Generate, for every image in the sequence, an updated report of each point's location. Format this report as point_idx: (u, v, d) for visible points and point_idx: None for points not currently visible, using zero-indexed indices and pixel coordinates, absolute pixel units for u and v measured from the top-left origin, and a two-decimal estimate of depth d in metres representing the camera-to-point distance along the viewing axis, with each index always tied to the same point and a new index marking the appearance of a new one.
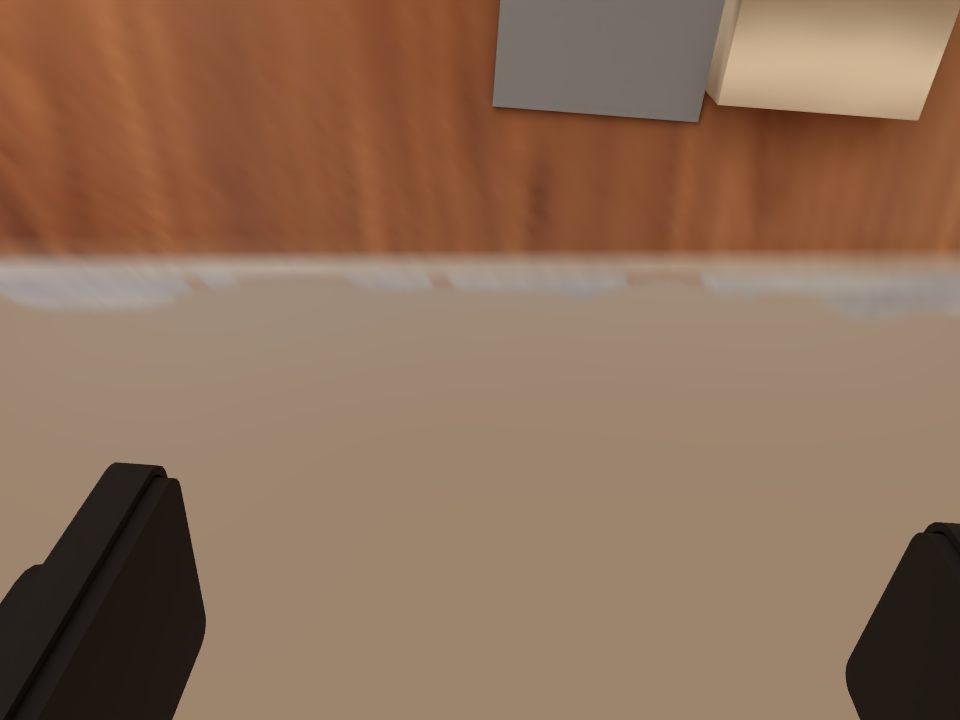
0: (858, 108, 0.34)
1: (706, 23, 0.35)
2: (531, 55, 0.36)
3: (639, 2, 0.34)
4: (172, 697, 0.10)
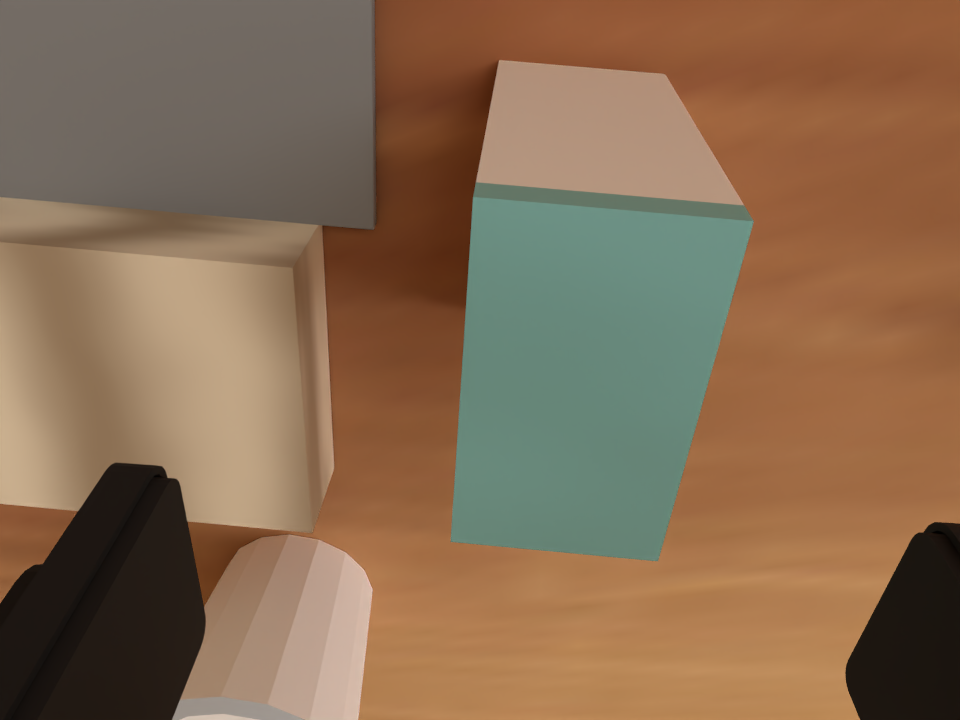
0: None
1: (16, 177, 0.20)
2: None
3: (7, 54, 0.19)
4: (172, 697, 0.10)
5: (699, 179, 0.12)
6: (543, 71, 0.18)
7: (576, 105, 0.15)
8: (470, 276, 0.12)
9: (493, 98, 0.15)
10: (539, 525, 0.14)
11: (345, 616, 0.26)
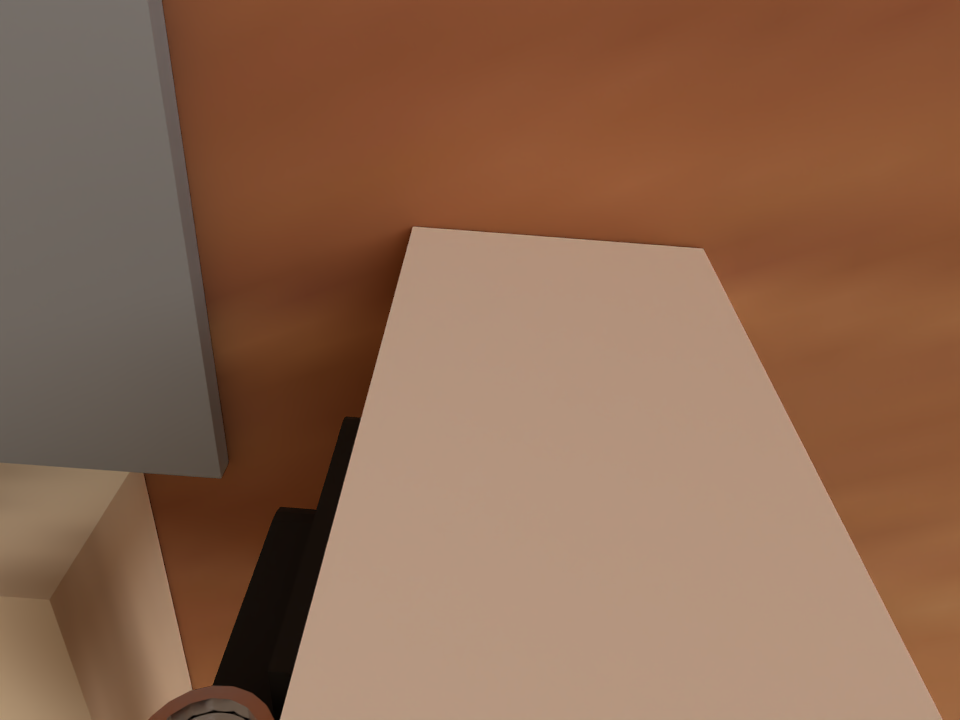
0: None
1: None
2: None
3: None
4: None
5: None
6: (489, 258, 0.10)
7: (547, 384, 0.07)
8: None
9: (377, 370, 0.07)
10: None
11: None
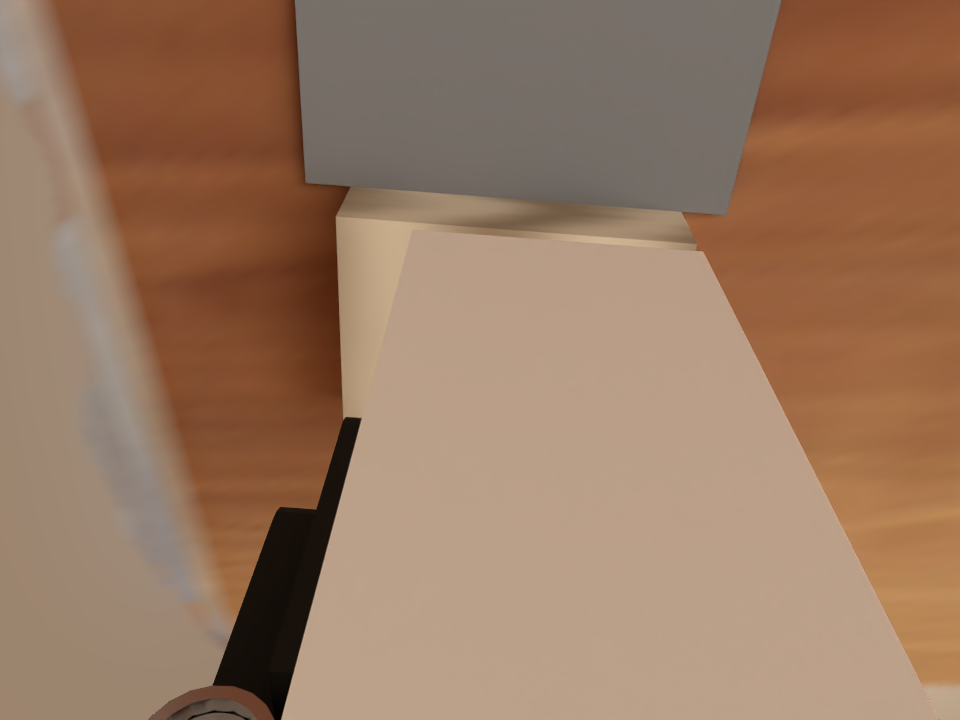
0: (351, 385, 0.27)
1: (439, 175, 0.25)
2: None
3: (464, 76, 0.23)
4: None
5: None
6: (488, 261, 0.10)
7: (547, 388, 0.07)
8: None
9: (377, 375, 0.07)
10: None
11: None
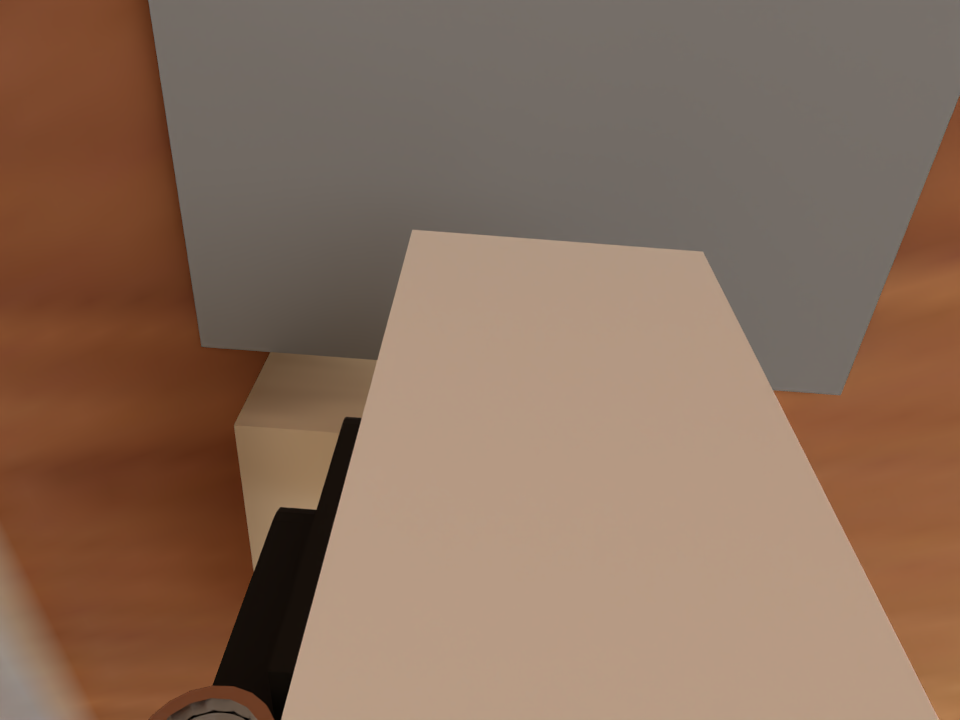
0: None
1: None
2: None
3: (439, 199, 0.15)
4: None
5: None
6: (488, 261, 0.10)
7: (547, 388, 0.07)
8: None
9: (377, 375, 0.07)
10: None
11: None
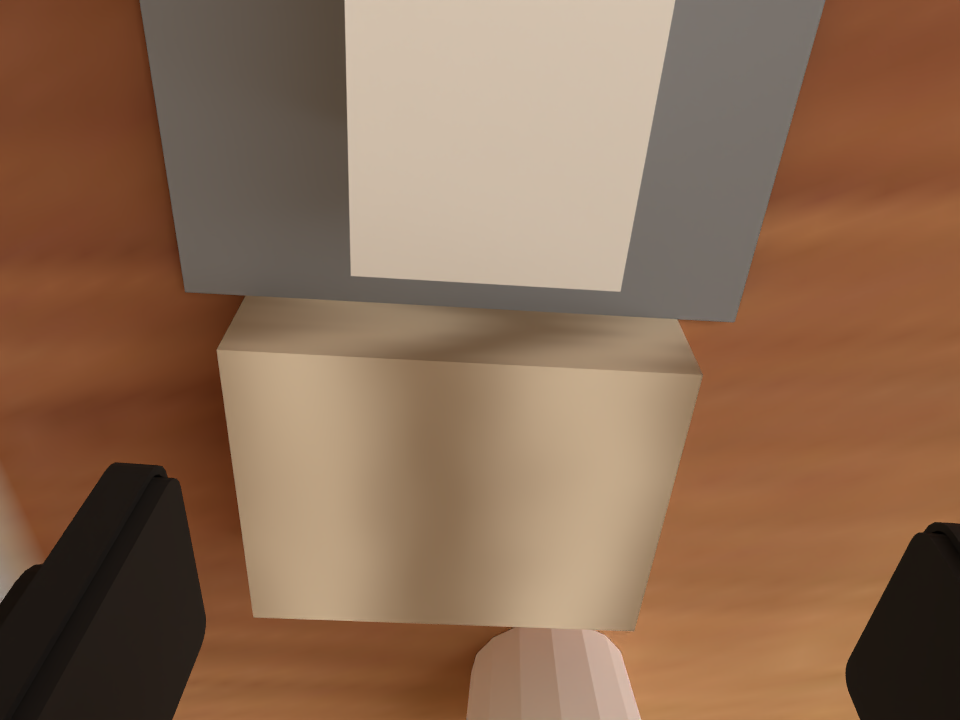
0: (255, 547, 0.20)
1: (361, 280, 0.19)
2: None
3: None
4: (172, 697, 0.10)
5: None
6: None
7: None
8: None
9: None
10: None
11: (631, 707, 0.25)
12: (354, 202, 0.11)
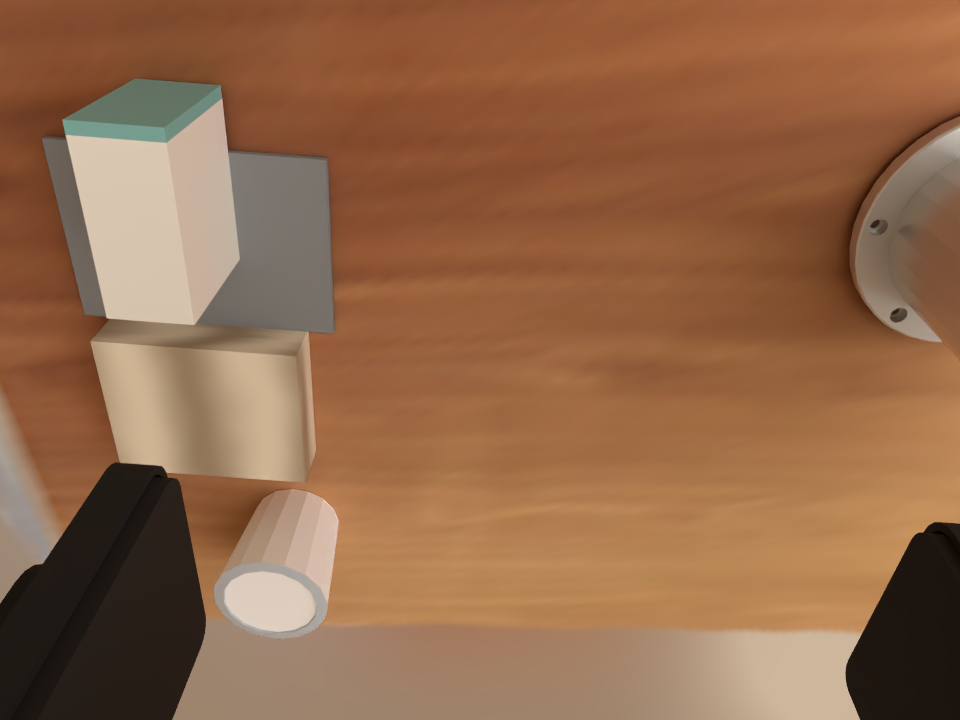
0: (118, 432, 0.44)
1: None
2: None
3: None
4: (172, 697, 0.10)
5: None
6: None
7: None
8: None
9: None
10: (111, 118, 0.31)
11: (323, 530, 0.49)
12: (103, 296, 0.34)
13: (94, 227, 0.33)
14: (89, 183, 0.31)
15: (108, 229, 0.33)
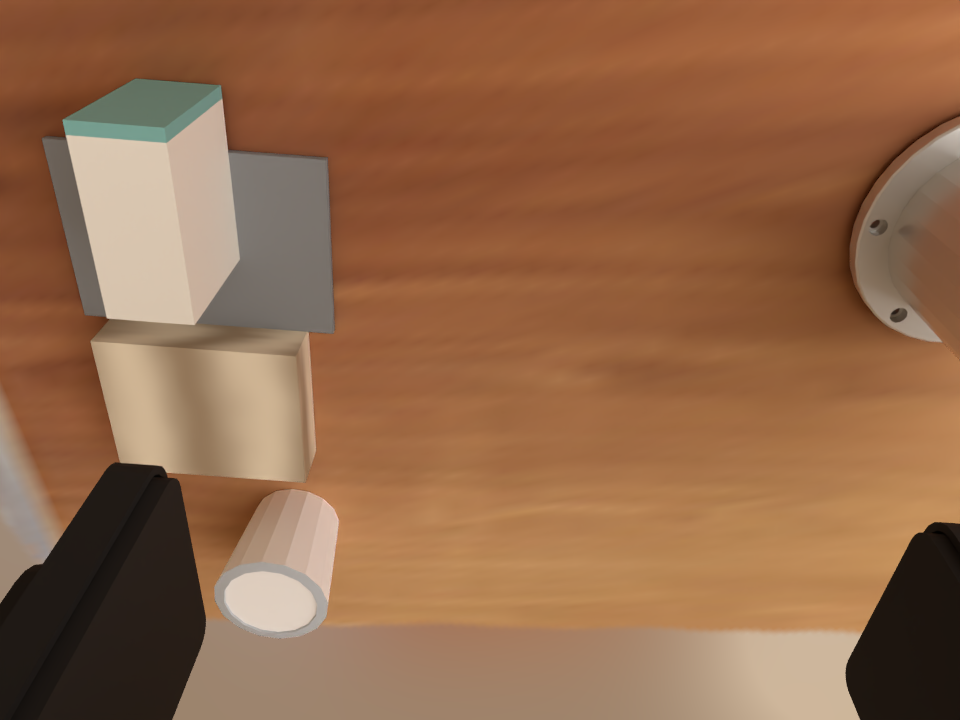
0: (118, 432, 0.44)
1: None
2: None
3: None
4: (172, 697, 0.10)
5: None
6: None
7: None
8: (125, 84, 0.35)
9: None
10: (111, 118, 0.31)
11: (323, 530, 0.49)
12: (103, 296, 0.34)
13: (94, 227, 0.33)
14: (89, 183, 0.31)
15: (108, 229, 0.33)
